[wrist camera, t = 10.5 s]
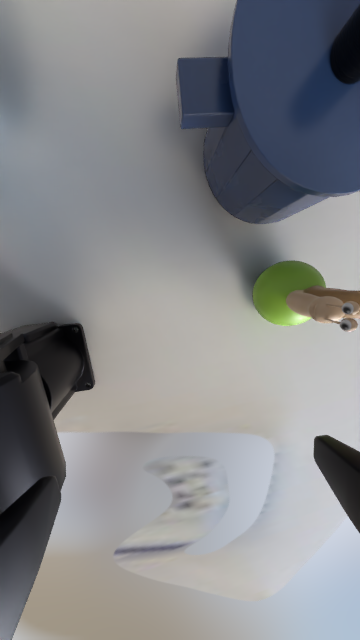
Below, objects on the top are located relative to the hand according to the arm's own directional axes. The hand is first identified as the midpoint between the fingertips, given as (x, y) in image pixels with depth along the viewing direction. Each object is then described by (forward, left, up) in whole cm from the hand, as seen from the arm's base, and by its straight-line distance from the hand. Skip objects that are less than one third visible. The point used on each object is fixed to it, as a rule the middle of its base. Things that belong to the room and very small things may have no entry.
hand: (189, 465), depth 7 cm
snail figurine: (+4, -10, -13) cm, 17 cm away
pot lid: (+15, -10, -6) cm, 19 cm away
